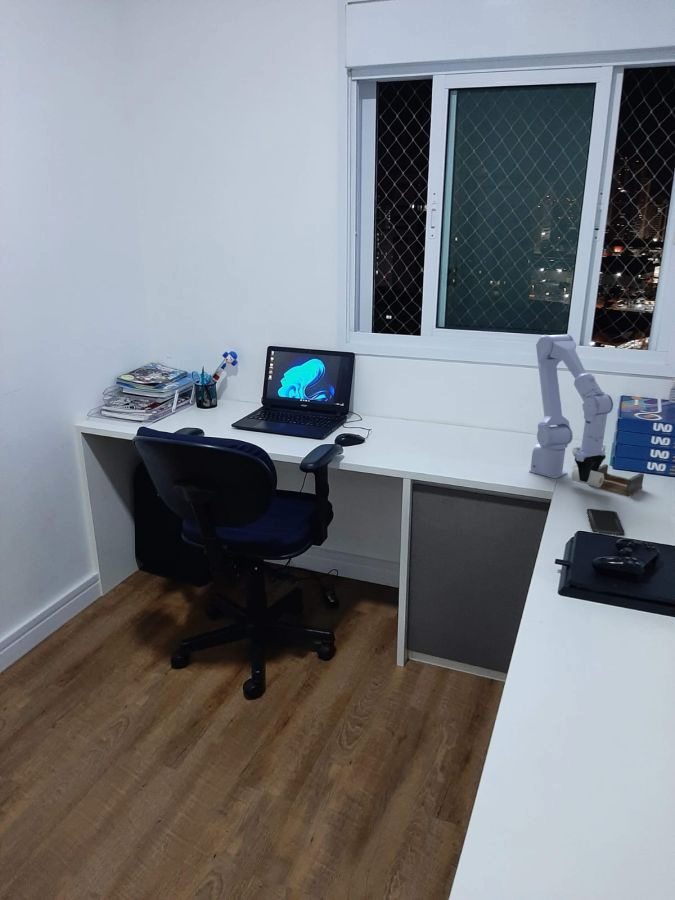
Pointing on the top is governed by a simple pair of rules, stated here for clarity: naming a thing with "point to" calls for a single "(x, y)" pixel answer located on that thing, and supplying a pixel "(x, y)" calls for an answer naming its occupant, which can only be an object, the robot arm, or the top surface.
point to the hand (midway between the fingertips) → (587, 479)
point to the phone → (605, 521)
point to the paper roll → (594, 478)
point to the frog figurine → (576, 450)
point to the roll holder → (620, 482)
